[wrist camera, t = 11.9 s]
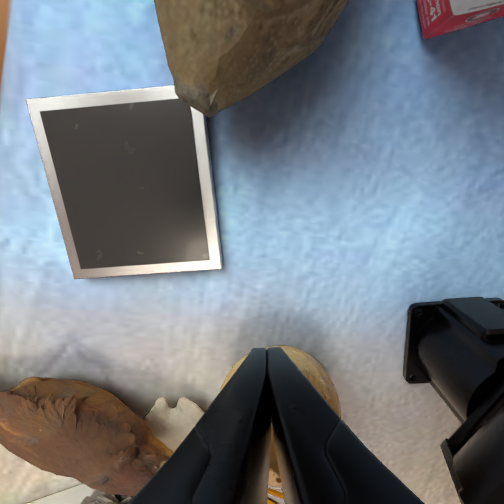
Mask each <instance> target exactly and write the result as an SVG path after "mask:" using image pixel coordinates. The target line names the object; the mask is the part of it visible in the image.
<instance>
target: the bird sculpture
mask: <svg viewBox="0 0 504 504" xmlns="http://www.w3.org/2000/svg"><path fill="white" fill-rule="evenodd" d="M0 444H2V445H3V446H4V447H5V448H6V449H7V450H9V451H10V452H12V453H13V454H15V455H16V456H18V457H20V458H22V459H23V460H25V461H27V462H29V463H31V464H32V465H34V466H36V467H38V468H40V469H41V470H44V471H48V472H51V473H54V474H56V475H61V476H67V477H72V478H75V479H77V480H78V481H80V482H81V483H83V484H85V485H87V486H88V487H90V488H91V489H96V490H99V491H105V492H107V493H109V494H113V495H117V494H121V495H123V496H133V497H134V496H135V495H136V494H137V493H138V492H139V491H140V490H141V489H142V487H143V486H144V485H145V484H146V483H147V482H148V481H149V480H150V479H151V478H152V477H153V476H154V474H155V473H156V472H157V471H158V470H159V469H160V468H161V467H162V465H163V464H164V463H165V462H166V461H167V460H168V459H169V458H170V456H171V455H172V454H173V453H174V451H172V450H171V449H169V448H168V447H167V446H166V445H165V444H164V443H163V442H162V441H160V440H159V439H157V438H156V437H155V436H154V435H153V433H152V431H151V429H150V426H149V425H148V423H147V422H146V421H144V420H143V419H142V418H141V417H139V416H138V415H136V414H134V413H133V412H132V411H131V409H130V408H128V407H127V406H126V405H124V404H123V403H122V402H121V401H120V400H119V399H118V398H117V397H116V396H114V395H113V394H111V393H110V392H108V391H106V390H104V389H100V388H98V387H96V386H94V385H92V384H89V383H87V382H84V381H78V380H63V379H53V378H41V377H29V378H27V379H25V380H23V381H22V382H21V383H20V384H19V385H17V386H16V387H15V388H14V389H13V388H12V389H11V390H9V391H4V392H0Z"/></svg>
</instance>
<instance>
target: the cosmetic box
mask: <svg viewBox="0 0 504 504" xmlns="http://www.w3.org/2000/svg"><path fill="white" fill-rule="evenodd" d="M95 490H96V489H91V488H90V487H88V486H87V485H85V484H81V485H78V486H75V487H72V488H69V489H66V490H63V491H61V492H58V493H55V494H52V495H49V496H46V497H44V498H40V499H38V500H35V501H32V502H29V503H26V504H81V503H82V501H83V499H84V498H85V497H86V496H91V494H92V493H93V492H94V491H95ZM103 492H105V491H103ZM105 493H106V494H107V492H105ZM112 495H113V494H112ZM113 496H114V495H113ZM114 497H115V496H114Z"/></svg>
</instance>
